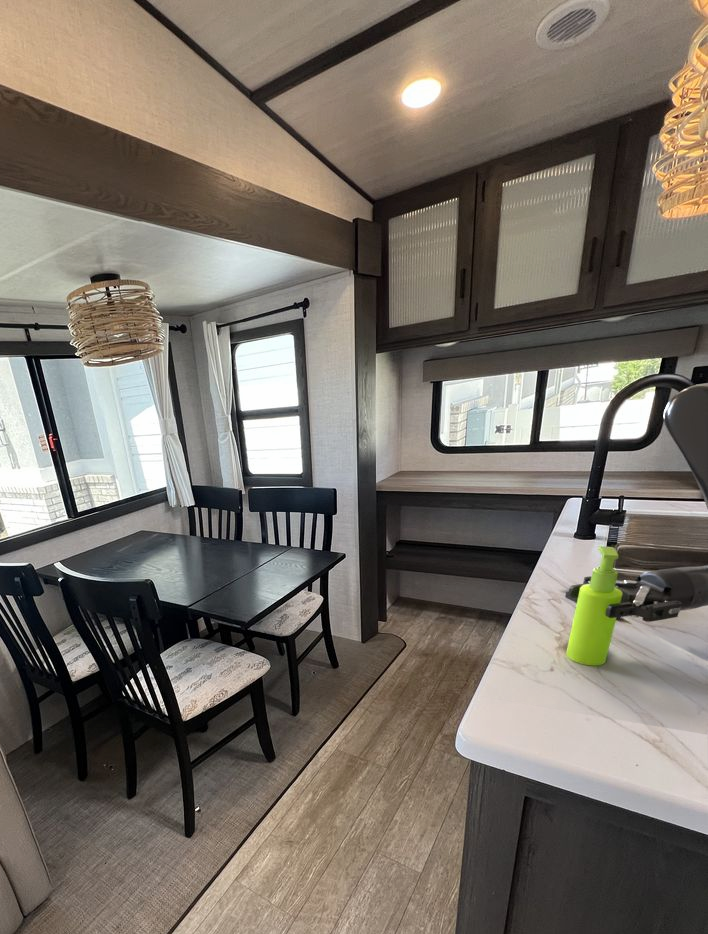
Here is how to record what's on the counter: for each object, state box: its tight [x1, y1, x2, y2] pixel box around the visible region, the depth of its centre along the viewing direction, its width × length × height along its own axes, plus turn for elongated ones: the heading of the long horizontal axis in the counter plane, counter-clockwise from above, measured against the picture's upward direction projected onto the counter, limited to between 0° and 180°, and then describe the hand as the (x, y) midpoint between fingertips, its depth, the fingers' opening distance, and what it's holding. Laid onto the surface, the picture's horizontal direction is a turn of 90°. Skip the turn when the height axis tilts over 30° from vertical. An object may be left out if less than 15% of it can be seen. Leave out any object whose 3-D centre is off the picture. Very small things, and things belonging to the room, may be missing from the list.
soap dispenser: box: [566, 546, 623, 667], centre depth 80 cm, size 6×7×20 cm
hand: (588, 601), depth 80 cm, fingers open, 8 cm apart
